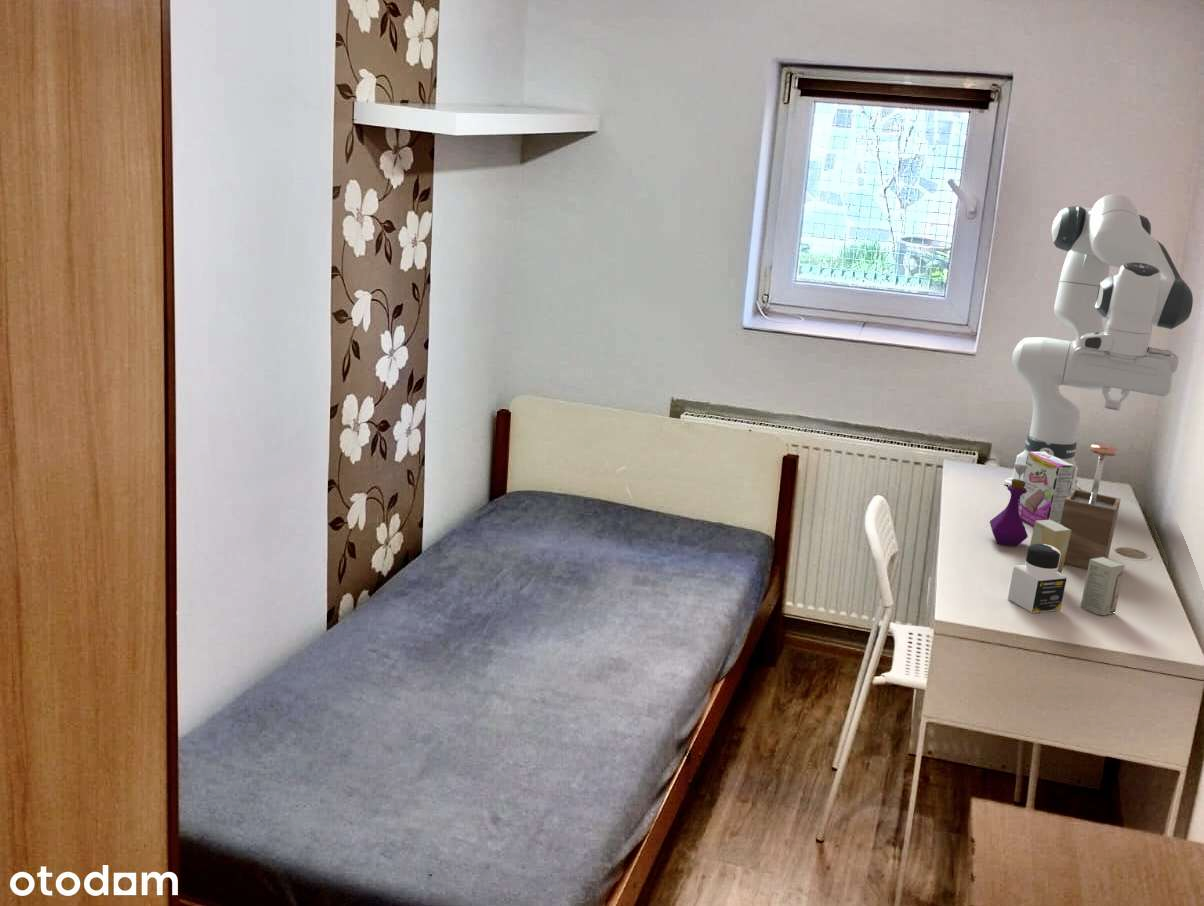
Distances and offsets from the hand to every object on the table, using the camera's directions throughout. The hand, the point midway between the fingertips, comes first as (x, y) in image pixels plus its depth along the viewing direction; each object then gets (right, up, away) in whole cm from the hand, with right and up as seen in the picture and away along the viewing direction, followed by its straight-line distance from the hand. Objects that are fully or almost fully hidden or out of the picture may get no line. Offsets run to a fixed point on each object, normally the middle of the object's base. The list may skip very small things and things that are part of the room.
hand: (1112, 408), depth 261 cm
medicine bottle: (-23, -39, -18) cm, 48 cm away
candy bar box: (-5, -26, +31) cm, 41 cm away
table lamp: (-2, -21, +6) cm, 22 cm away
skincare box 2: (-10, -40, -18) cm, 45 cm away
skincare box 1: (-16, -35, -5) cm, 39 cm away
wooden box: (-3, -32, +9) cm, 34 cm away
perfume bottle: (-17, -29, +17) cm, 38 cm away
